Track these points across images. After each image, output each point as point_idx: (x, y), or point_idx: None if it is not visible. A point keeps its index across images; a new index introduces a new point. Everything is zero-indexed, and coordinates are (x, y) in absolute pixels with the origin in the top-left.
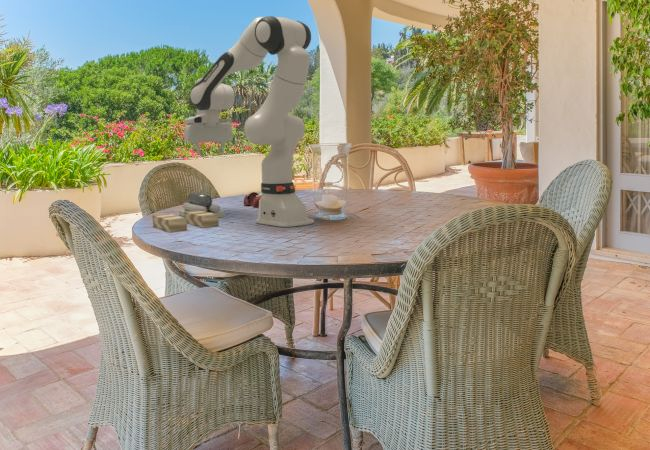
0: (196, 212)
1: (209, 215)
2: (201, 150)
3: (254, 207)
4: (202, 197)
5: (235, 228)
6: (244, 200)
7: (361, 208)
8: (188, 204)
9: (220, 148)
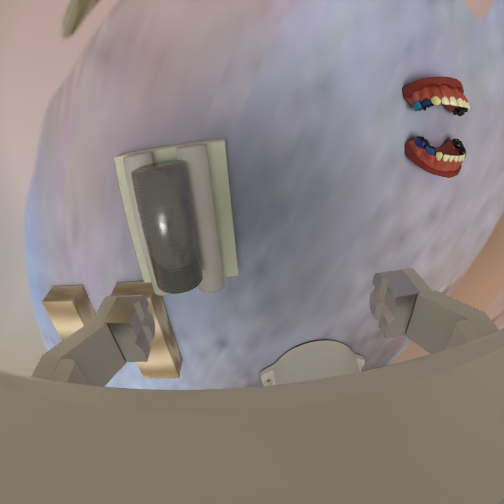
0: None
1: (160, 375)
2: (145, 355)
3: (405, 154)
4: (163, 289)
5: (204, 388)
6: (415, 87)
7: (490, 318)
8: (133, 201)
9: (415, 310)
